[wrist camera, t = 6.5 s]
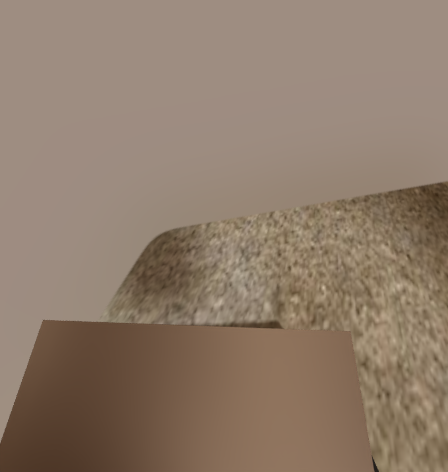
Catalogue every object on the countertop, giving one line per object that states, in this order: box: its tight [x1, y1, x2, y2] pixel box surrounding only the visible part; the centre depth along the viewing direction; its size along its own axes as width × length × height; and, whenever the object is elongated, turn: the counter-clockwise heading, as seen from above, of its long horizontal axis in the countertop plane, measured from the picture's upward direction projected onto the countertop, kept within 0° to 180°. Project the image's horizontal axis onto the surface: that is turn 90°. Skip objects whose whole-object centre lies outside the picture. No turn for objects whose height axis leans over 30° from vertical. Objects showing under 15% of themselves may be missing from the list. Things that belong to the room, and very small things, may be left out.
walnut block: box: [0, 320, 374, 472], centre depth 8 cm, size 6×6×10 cm
